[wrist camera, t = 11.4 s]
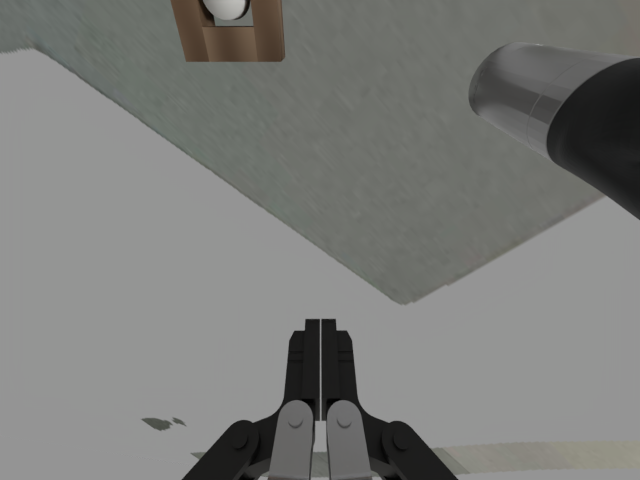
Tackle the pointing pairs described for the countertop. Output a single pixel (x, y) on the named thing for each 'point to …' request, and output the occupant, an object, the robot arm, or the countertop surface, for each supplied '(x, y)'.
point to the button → (228, 8)
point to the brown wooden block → (230, 33)
